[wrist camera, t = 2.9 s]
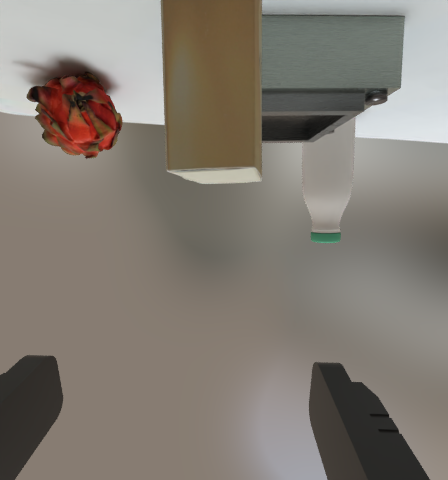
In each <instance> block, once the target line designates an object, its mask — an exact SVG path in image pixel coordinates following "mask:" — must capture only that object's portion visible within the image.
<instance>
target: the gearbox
mask: <svg viewBox="0 0 448 480" xmlns="http://www.w3.org/2000/svg"><path fill="white" fill-rule="evenodd" d="M404 19H405V16H282V15H262V143H286V142H287V143H289V142H290V143H293V142H315V141H316V140H318V139H320V138H321V137H323V136H324V135H326V134H331V133H334V129H336V128H337V127H339V126H341V125H342V124H344V123H346V122H347V121H349V120H350V119H352V118H354V117H355V116H357V115H359V114H360V113H362V112H363V111H364V110H366V109H367V108H369V107H371V106H372V105H378V104H382V103H384V102H386V101H387V96H388V95H390V94H392V93H393V92H395V91H396V90H398V89H400V88H401V73H402V55H403V37H404Z"/></svg>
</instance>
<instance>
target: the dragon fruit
mask: <svg viewBox="0 0 448 480" xmlns="http://www.w3.org/2000/svg"><path fill="white" fill-rule="evenodd" d="M86 75H87V76H84V75H80V76H79V77H78V78H75V77H74V76H71V77H69V76H70V75H69V76H68V78H67V76H63V77H62V78H61V79H58V78H54V79H51V80H50V81H49V82H48V83H47V84H46V85H45V86H42V87H41V86H34V87H32V88H31V89H30V90H29V92H28V94H27V99H28V100H30V101H32V102H38V105H37V107H36V109H35V110H36V111H37V112H38V113H39V114H38V115H37V116H36V117H35V119H36V120H37V121H38V122H39V123H40V125H41V126H42V127H43V128H44V129H45V130H44V133H43V134H42V138H43V139H44V140H45V141H46V142H47V143H48V144H50V145H54V146H60V147H61V149H62V150H63V151H64V152H65V153H67V154H69V155H80V154H83V155H84V156H86V157H85V158H95V157H97V155H98V153H99V152H101V151H103V149H106V150H109V149H111V148H112V147H113V146H114V145H115V144H116V142H117V137H118V134H119V131H120V130H121V127H122V117H121V115H120V113H117V112H116V110H115V106H114V104H113V102H112V100H111V98H110V96H108V95H106V94H105V92H104V89H103V87H102V86H101V85H100V84H99V80H98V79H97V78H96V77H95V76H93V75H92V74H89V73H87V72H86Z"/></svg>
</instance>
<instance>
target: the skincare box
mask: <svg viewBox="0 0 448 480" xmlns="http://www.w3.org/2000/svg"><path fill="white" fill-rule="evenodd" d="M161 20H162V54H163V86H164V115H165V147H166V171H167V172H171V173H173V174H176V175H180V176H181V177H183V178H184V179H187V180H192V181H196V182H198V183H203V184H217V183H246V182H256V181H261V180H262V0H161Z"/></svg>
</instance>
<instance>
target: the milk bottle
mask: <svg viewBox="0 0 448 480" xmlns="http://www.w3.org/2000/svg"><path fill="white" fill-rule="evenodd" d="M354 144H355V117H354V118H352V119H350V120H349V121H347V122H346V123H344V124H342V125H341V126H339V127H337V128H336V129H334V133H331V134H326V135H324V136H323V137H321V138H320V139H318V140H316V141H315V142H303V147H302V148H303V149H302V185H303V186H302V187H303V196H304V200H305V203H306V205H307V208H308V210H309V212H310V215H311V218H312V223H313V227H312V229H311V231H312V232H311V240H312V241H313V242H319V243H335V242H339V241H340V237H341V234H340V230H341V229H340V228H339V223H340V219H341V216H342V214H343V211H344V209H345V207H346V205H347V203H348V201H349V199H350V196H351V192H352V184H353V167H354Z"/></svg>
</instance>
